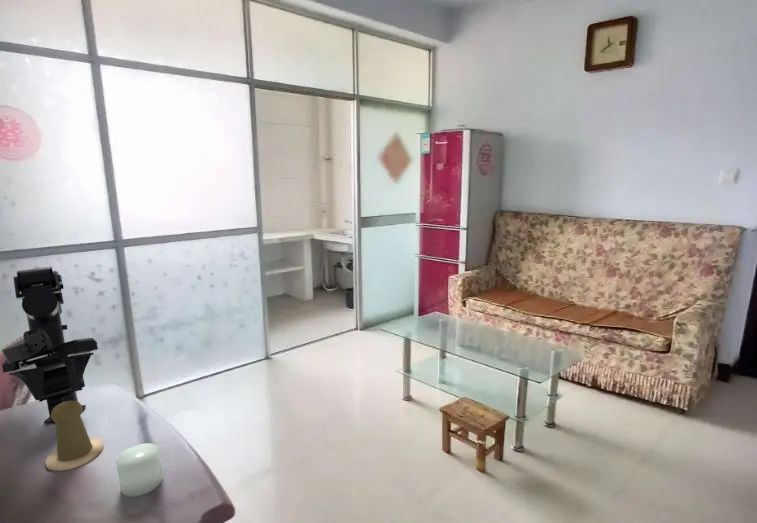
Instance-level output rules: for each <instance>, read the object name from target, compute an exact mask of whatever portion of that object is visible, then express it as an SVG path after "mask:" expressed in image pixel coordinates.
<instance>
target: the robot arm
mask: <svg viewBox="0 0 757 523" xmlns="http://www.w3.org/2000/svg"><path fill="white" fill-rule="evenodd" d="M13 284H14V293H15V294H14V295H15V298H16V299H17V300H22V301H21V307H22V310H23V312H24V313H25V315H26V318H27V319H26V320H27V326H28V330H26V331H24V332H23V339H22V340H19V341H17V342H15V343H13V344H11V345H9V346H7V347H4V348H3V349H2V350H1V352H2V353H3V355H4V357H5V360H4V361H3V363H2V364H1V367H2V373H3V374H8V376H11V377H12V376H13V377H15V378H17V379H20V380H22V382H23V384H24V385H25V386H26V387H27V389H28V390H29V392H30V394H31V395H32V397H33V398H34V399H35V401H39V403H41V402H43V401H46V405H47V409H48V410H47V411H48V414H49V416H48V417H47V418H46V419H45V420H44V421H43V423H44V424H43V425H49V424H50V425H51V424H56V423H55V422H53V420H52V418H51V412H52V410H53V408H54V407H55V406H57V405H58V404H61V403H63V402H66V401H78V402H79V399H78V395H77V392H79V391H83V388H85V387H86V385H85V379H84V374H85V370H86V368H87V366H88V364H89V361H90V359H91V357H92V356H94V354H95V353H94V351H98V350H99V348H98V342H97V341H96V339H94V338H93V337H88V338H87V337H86V338H77V339H73V340H70V341H65V335H64V334H65V333H64V331H66V330H68V325H67V324H63V323H62V319H61V314H62V313H63V310H62V305H64V297H63V292H62V290H63V289H64V290H65V288H64V283H63V279H62V275H61V274H59V271H57V270H53V267H52V266H44V267H35V268H30V269H22V270H17V271H16V276H13ZM81 406H82V412H83V411H85V409H86V407H87V405H86V404H81Z"/></svg>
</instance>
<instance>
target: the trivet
mask: <svg viewBox="0 0 757 523" xmlns="http://www.w3.org/2000/svg"><path fill="white" fill-rule="evenodd" d="M89 439H90V441H91V444H92V449H91V450H90V452H88V453H87V454H86V455H84V456H82V457H81V458H78V459H76V460H72V461H66V462H64V461H60V460H58V456H57V448H56V449H55V450H54V451H52V452H51V453H50V454H49V455H48V456H47V457H46V459H45V466H46V468H47V469H48V470H50V471H52V472H53V471H54V472H62V471H68V470H73V469H75V468H78V467H81V466H83V465H85V464H87V463H90V462H91V461H93V460H94V459H95V458H97V457H98V456H99V455H100V454H101V453H102V451H104V442H103V440H102V439H100V438H98V437H89Z"/></svg>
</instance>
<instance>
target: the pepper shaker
mask: <svg viewBox="0 0 757 523" xmlns="http://www.w3.org/2000/svg"><path fill="white" fill-rule="evenodd" d="M81 405H82V404H81V403H80V402H79V400H78V401H66V402H63V403H61V404H58V405H57V406H55V407H54V408H53V410H52V412H51V418H52V420H53V422H55V423H54V424H55V427H56V431H55V432H56V449H57V456H58V460H60V461H64V462H66V461H72V460H76V459H78V458H81V457H82V456H84V455H86V454H87V453H88V452H90V450H91V449H92V444H91V441H90V439H89V438H90V437H89V434H88V432H87V430H86V427H85V424H84V422H83V419H82V414H83V411H82V406H81Z"/></svg>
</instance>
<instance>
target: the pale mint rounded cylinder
mask: <svg viewBox="0 0 757 523" xmlns="http://www.w3.org/2000/svg"><path fill="white" fill-rule="evenodd" d="M115 465H116V471H117V476H118V481H119V486H120V491H121V494H122V495H123V496H125V497H129V498H132V497H133V498H134V497H140V496H143V495H145V494H148V493H150V492H152V491H153V490H156V488H157V487H159V486H160V485H161V483H162V481H163V479H164V475H163V474H164V473H163V469H162V468H163V466H162V461H161V456H160V448H159V446H158V445H157V444H155V443H148V442H147V443H140V444H137V445H134V446H131V447H129V448H126V449H125V450H124V451H122V452H120V454H119V455H118V456H117V457H116V459H115Z"/></svg>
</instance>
